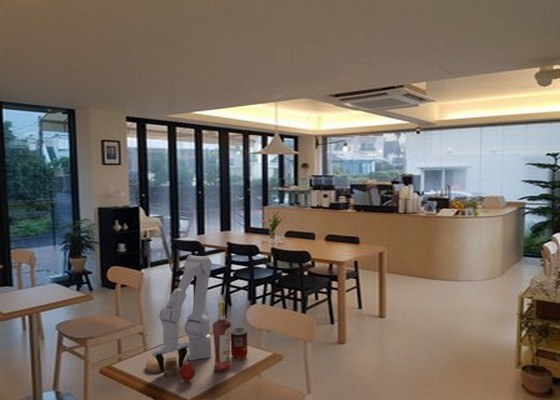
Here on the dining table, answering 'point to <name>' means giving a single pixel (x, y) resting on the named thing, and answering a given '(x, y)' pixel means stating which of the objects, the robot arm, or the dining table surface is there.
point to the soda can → (239, 343)
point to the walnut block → (171, 366)
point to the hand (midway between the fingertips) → (171, 369)
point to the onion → (187, 372)
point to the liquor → (222, 340)
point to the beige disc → (154, 365)
